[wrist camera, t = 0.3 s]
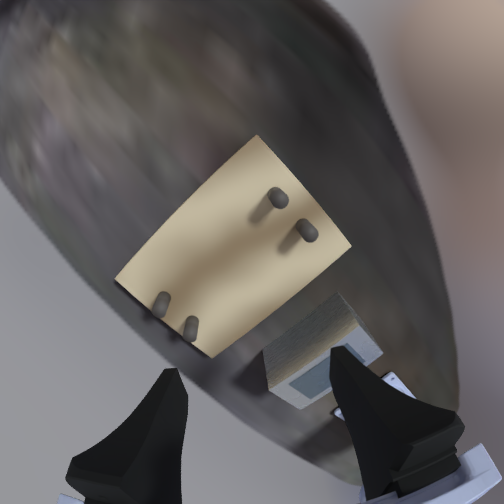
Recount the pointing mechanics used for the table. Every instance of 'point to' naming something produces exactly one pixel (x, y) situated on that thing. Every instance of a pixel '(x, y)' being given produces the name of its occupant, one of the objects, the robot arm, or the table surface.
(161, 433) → the robot arm
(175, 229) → the tan flat board
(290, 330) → the block
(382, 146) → the table surface
